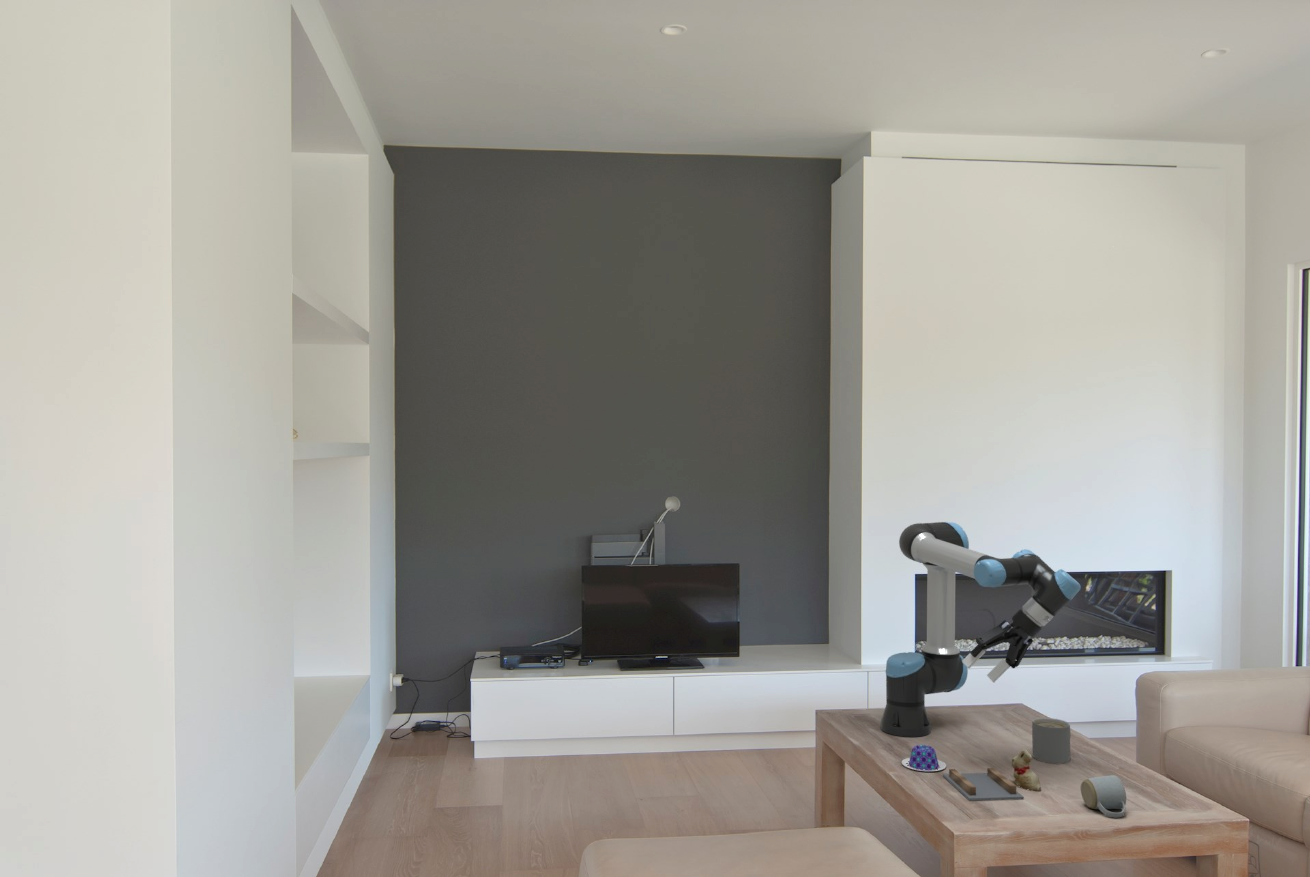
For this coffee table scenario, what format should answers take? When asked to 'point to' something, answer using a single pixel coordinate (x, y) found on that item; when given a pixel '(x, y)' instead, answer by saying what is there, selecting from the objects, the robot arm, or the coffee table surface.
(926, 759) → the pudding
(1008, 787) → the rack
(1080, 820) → the coffee table surface
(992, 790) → the mat
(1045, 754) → the coffee mug
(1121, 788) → the ceramic mug
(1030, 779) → the chocolate bunny
